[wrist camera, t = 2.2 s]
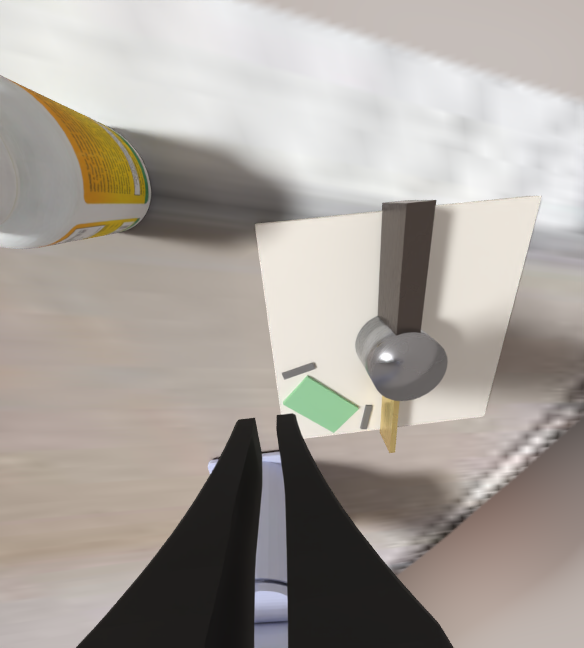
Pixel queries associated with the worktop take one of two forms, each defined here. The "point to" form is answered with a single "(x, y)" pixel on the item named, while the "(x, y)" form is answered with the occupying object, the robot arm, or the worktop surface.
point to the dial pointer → (401, 315)
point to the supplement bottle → (63, 174)
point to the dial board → (362, 305)
